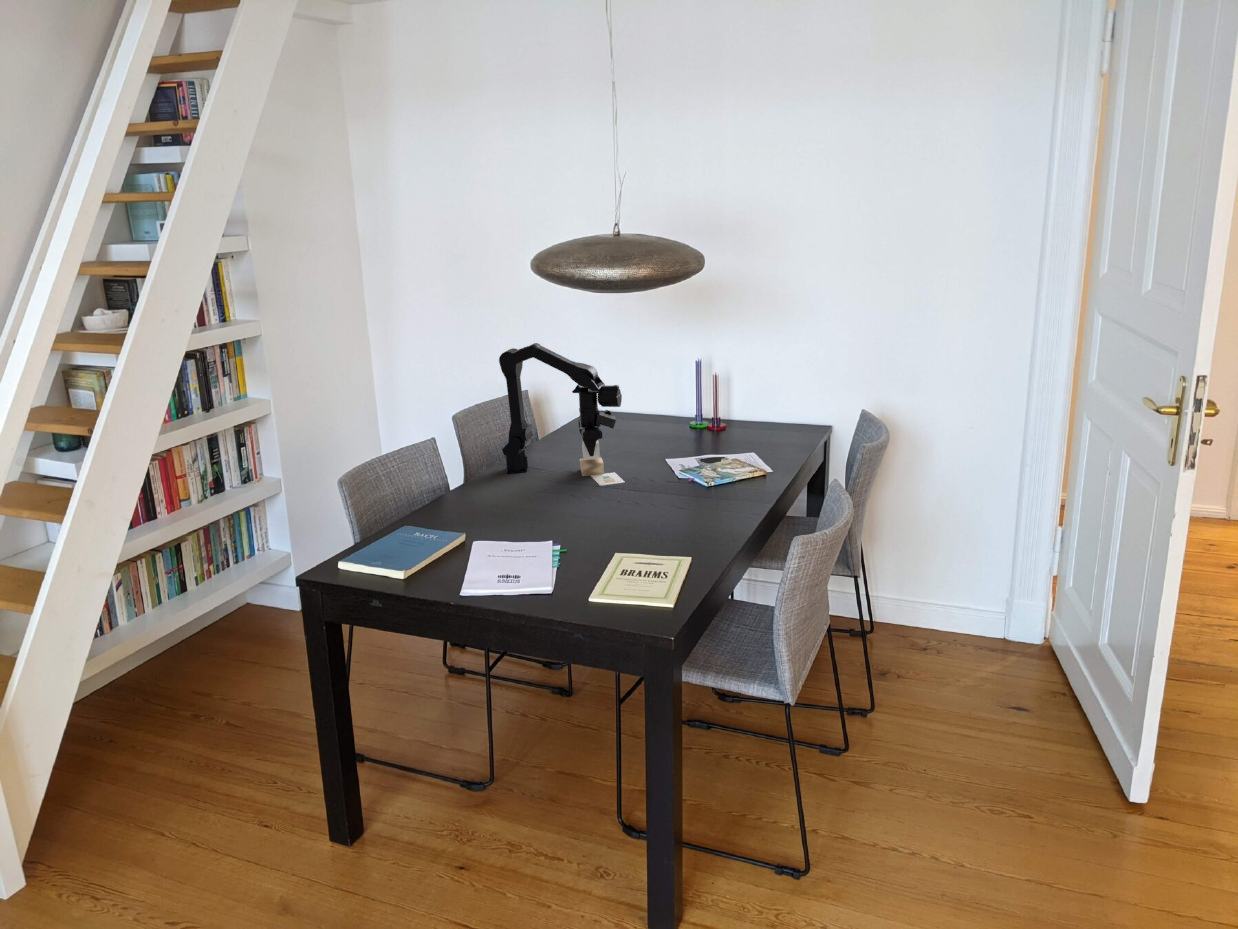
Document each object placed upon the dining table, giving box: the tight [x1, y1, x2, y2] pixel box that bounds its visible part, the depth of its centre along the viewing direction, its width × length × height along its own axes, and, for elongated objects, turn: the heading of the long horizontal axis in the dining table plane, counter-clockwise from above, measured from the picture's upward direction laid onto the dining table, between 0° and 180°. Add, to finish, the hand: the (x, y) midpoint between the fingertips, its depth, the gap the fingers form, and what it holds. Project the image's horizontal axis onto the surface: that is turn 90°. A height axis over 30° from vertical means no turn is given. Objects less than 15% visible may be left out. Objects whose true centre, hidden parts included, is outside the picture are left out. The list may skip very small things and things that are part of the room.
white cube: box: [581, 439, 601, 460], centre depth 302 cm, size 5×5×5 cm
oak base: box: [579, 456, 605, 477], centre depth 304 cm, size 7×7×4 cm
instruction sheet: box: [590, 472, 626, 487], centre depth 296 cm, size 8×11×1 cm
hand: (590, 453), depth 303 cm, fingers closed on white cube, 5 cm apart
